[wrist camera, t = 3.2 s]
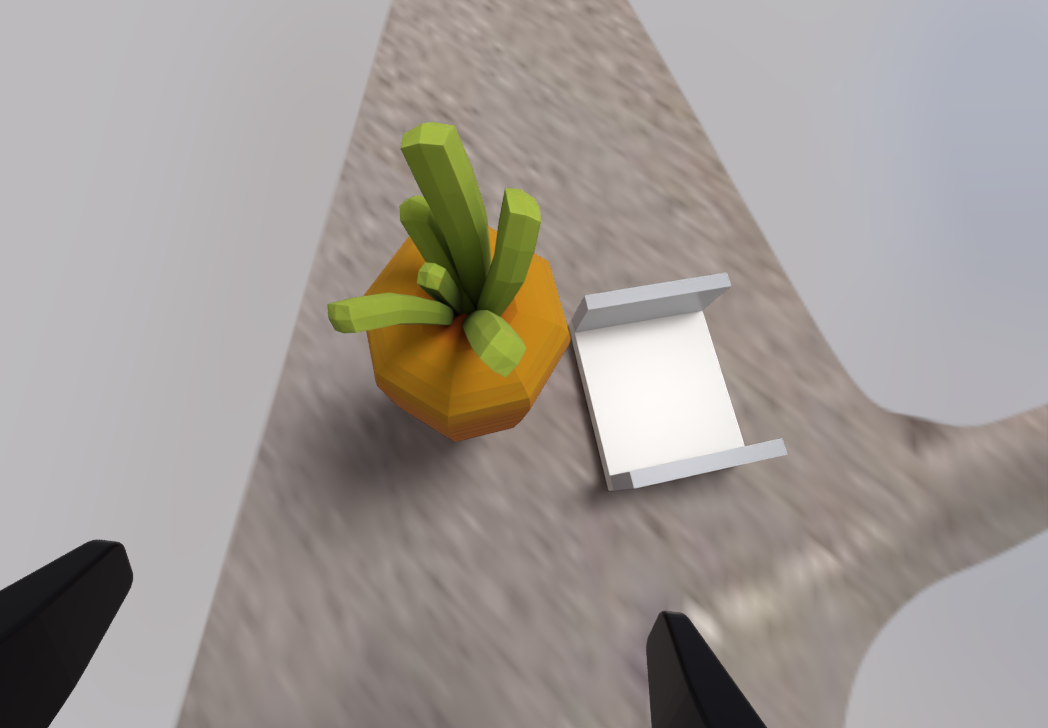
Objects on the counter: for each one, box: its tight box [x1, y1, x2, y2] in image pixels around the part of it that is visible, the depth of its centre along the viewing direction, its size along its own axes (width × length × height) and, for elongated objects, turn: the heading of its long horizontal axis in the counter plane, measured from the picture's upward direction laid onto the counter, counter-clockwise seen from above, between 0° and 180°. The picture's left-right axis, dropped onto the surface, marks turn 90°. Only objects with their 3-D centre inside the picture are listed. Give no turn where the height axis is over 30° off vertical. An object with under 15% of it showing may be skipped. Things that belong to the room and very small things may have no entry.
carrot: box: [328, 122, 571, 442], centre depth 14 cm, size 5×5×15 cm
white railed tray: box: [568, 273, 787, 491], centre depth 21 cm, size 7×6×4 cm
